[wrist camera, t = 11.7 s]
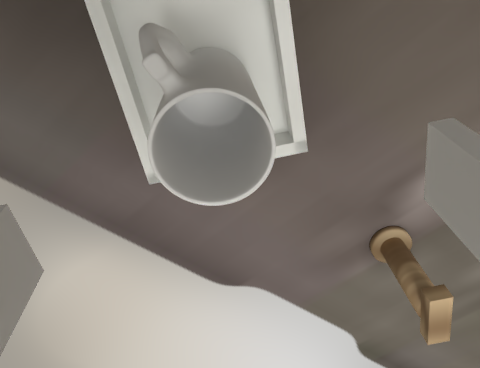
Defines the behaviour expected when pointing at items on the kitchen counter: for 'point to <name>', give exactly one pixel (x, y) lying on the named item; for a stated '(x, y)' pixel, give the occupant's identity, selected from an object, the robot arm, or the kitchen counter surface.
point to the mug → (205, 122)
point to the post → (415, 283)
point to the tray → (200, 36)
